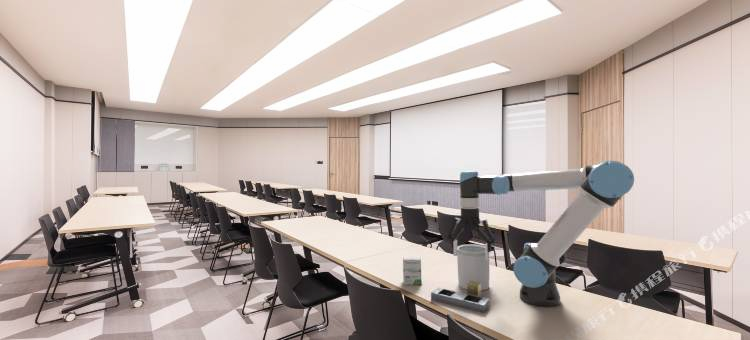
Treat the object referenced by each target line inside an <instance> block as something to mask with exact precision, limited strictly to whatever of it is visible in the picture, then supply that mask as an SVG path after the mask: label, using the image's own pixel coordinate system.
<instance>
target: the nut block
mask: <svg viewBox="0 0 750 340" xmlns="http://www.w3.org/2000/svg"><path fill="white" fill-rule="evenodd" d="M466 290H467V293H466V294H470V295H475V296H479V297H482V290H481V283H479V282H474V281H470V282H469V283H468V284H467V289H466Z"/></svg>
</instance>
